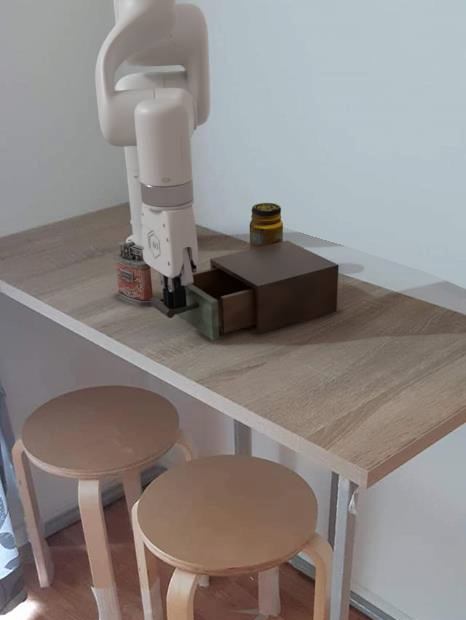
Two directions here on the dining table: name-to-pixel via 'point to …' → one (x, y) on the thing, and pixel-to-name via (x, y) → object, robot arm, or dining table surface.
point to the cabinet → (284, 283)
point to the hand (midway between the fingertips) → (175, 311)
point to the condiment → (265, 225)
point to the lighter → (133, 274)
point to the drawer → (214, 303)
